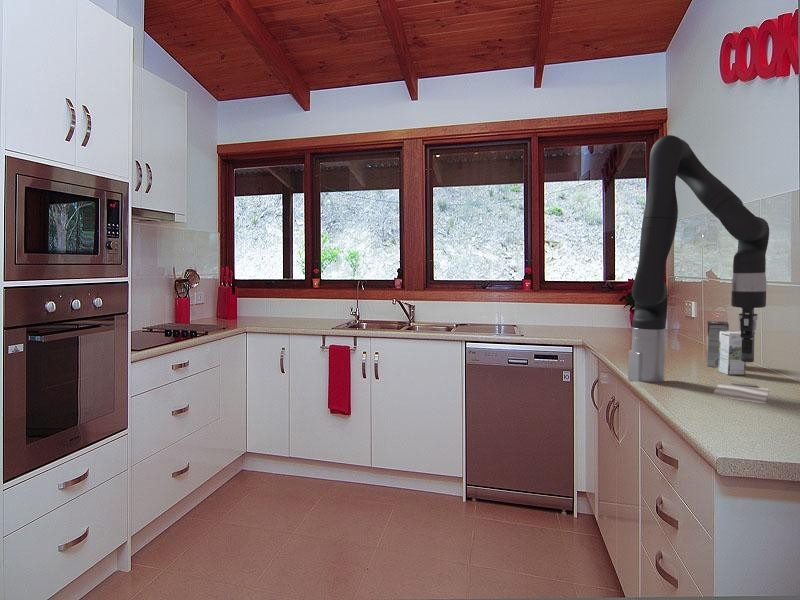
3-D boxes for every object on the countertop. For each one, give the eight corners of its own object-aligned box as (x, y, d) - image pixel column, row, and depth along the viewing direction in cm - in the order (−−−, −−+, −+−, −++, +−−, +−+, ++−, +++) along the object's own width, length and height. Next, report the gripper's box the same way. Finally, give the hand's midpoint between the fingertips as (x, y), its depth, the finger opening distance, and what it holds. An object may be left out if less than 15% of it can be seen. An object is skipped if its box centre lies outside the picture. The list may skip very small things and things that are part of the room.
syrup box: (734, 371, 157) (736, 330, 156) (746, 375, 151) (747, 332, 150) (717, 371, 158) (718, 330, 157) (727, 375, 152) (729, 332, 151)
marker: (746, 362, 123) (747, 318, 122) (737, 360, 126) (738, 317, 125) (757, 362, 123) (758, 318, 122) (748, 360, 126) (749, 317, 125)
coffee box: (705, 362, 174) (706, 320, 173) (725, 363, 171) (727, 321, 170) (706, 366, 166) (708, 323, 165) (728, 368, 163) (729, 324, 162)
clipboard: (771, 409, 114) (771, 403, 114) (705, 399, 123) (705, 394, 123) (774, 391, 131) (774, 386, 131) (715, 384, 140) (715, 379, 140)
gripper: (765, 290, 115) (763, 357, 116) (767, 288, 126) (766, 350, 127) (729, 290, 120) (727, 354, 121) (734, 288, 131) (732, 348, 132)
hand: (747, 352), depth 124 cm, fingers closed on marker, 2 cm apart
